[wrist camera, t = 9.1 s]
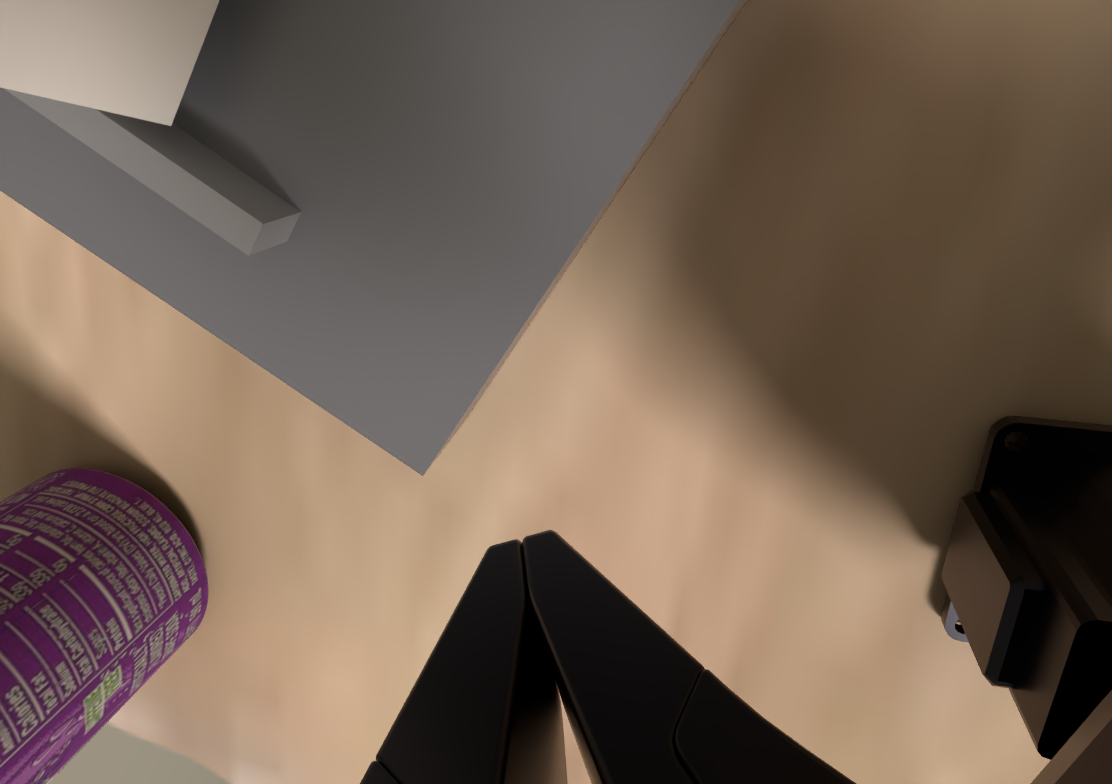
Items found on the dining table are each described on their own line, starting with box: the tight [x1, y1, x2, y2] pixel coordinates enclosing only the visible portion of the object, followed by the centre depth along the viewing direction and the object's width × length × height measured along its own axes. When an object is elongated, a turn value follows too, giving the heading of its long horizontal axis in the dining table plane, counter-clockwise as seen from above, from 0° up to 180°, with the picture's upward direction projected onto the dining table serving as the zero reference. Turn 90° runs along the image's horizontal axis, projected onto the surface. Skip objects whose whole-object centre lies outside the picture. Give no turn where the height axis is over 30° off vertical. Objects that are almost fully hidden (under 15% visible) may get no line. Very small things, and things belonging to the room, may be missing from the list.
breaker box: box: [0, 0, 747, 476], centre depth 17 cm, size 14×14×5 cm
